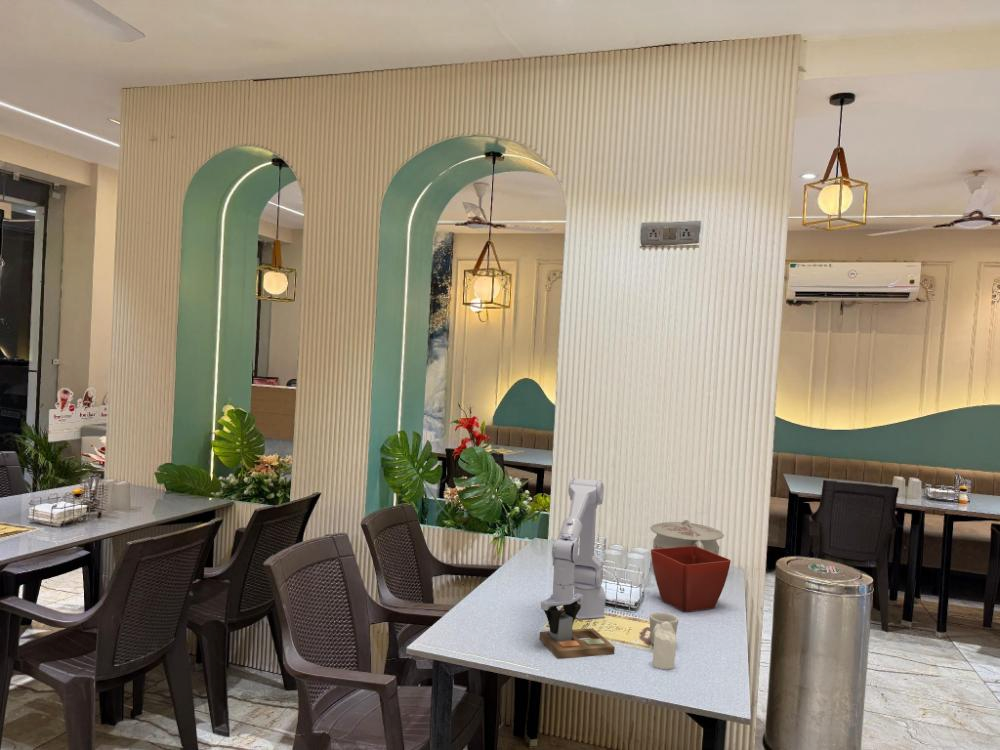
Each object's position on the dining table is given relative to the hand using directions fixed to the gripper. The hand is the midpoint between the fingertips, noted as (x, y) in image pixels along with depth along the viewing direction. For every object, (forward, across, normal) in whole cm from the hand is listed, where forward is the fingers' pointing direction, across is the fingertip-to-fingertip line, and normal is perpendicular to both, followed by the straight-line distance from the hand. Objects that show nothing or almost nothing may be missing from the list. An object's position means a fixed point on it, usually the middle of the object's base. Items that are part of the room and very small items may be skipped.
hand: (560, 630), depth 209 cm
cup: (+4, -23, +17) cm, 29 cm away
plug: (+3, 0, 0) cm, 3 cm away
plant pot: (+4, -61, -2) cm, 61 cm away
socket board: (+4, -3, +4) cm, 6 cm away
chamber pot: (+4, -90, -25) cm, 93 cm away
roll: (+4, -13, +26) cm, 29 cm away
